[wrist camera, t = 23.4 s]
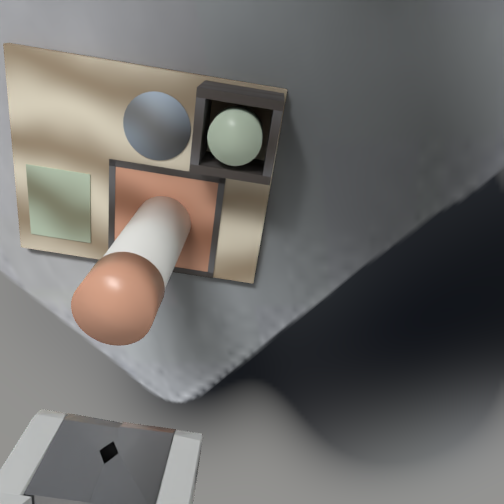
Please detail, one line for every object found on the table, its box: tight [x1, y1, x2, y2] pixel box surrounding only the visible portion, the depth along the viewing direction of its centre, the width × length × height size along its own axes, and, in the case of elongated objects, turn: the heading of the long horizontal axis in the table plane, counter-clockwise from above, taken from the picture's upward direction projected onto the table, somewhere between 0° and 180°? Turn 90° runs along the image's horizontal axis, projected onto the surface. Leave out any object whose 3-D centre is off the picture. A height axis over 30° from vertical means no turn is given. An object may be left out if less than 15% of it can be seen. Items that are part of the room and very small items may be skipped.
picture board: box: [3, 43, 287, 284], centre depth 35 cm, size 16×20×5 cm
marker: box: [71, 196, 191, 345], centre depth 32 cm, size 5×5×13 cm
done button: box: [207, 106, 263, 166], centre depth 31 cm, size 4×4×2 cm
